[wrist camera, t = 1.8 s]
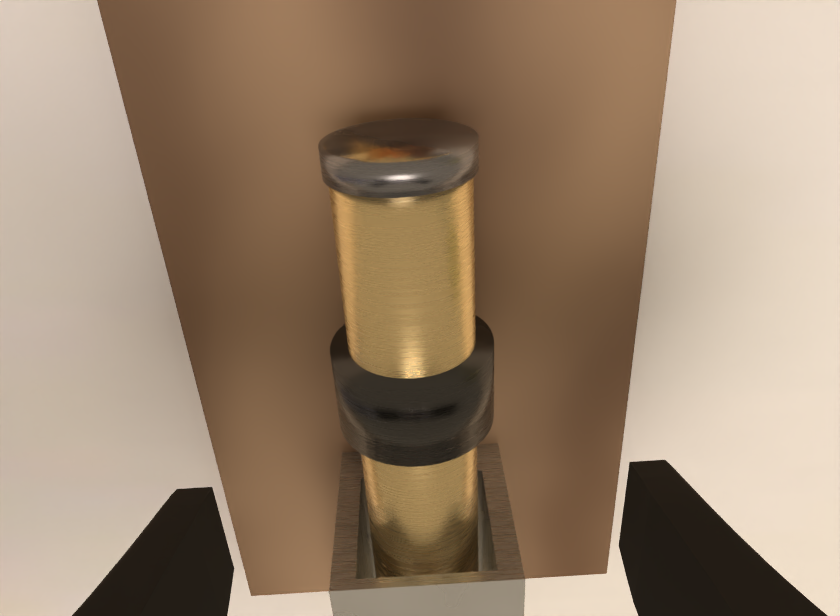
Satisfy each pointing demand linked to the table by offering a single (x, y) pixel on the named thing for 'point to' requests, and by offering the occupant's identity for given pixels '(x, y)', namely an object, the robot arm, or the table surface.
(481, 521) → the outer sleeve
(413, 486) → the inner tube
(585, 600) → the table surface
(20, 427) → the table surface
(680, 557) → the robot arm
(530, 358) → the base board
